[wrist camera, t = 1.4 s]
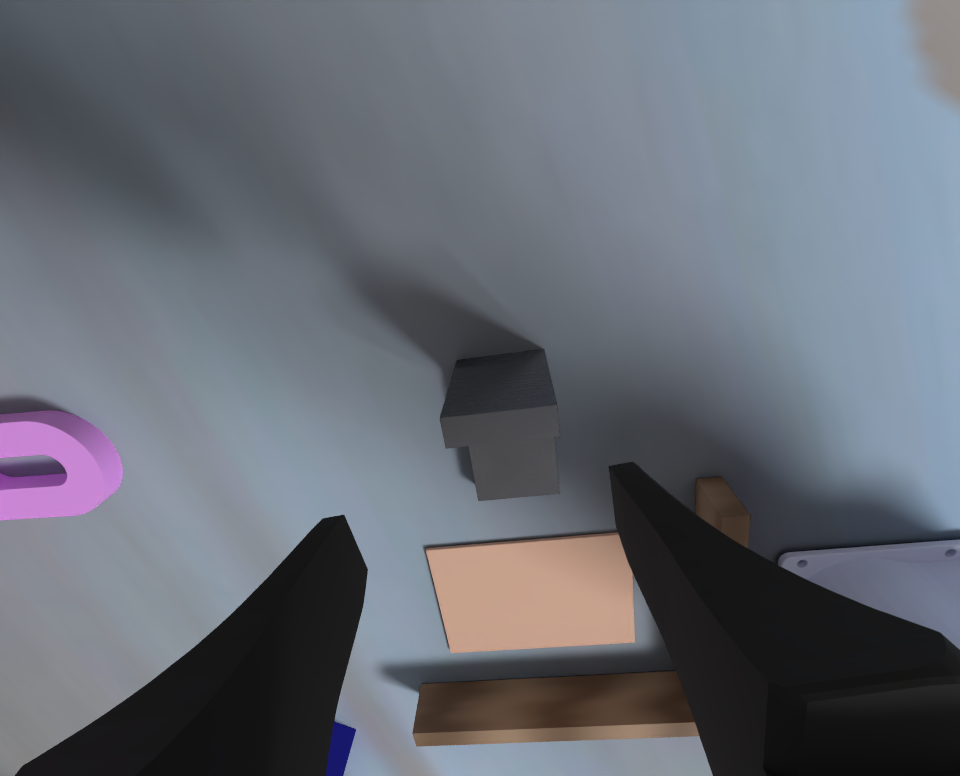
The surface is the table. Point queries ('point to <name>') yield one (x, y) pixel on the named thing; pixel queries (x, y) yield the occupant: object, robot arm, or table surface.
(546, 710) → the corner walls
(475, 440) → the angle bracket
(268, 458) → the table surface
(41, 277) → the table surface
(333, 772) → the blue cradle block
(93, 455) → the bracket
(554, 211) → the table surface
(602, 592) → the mat
